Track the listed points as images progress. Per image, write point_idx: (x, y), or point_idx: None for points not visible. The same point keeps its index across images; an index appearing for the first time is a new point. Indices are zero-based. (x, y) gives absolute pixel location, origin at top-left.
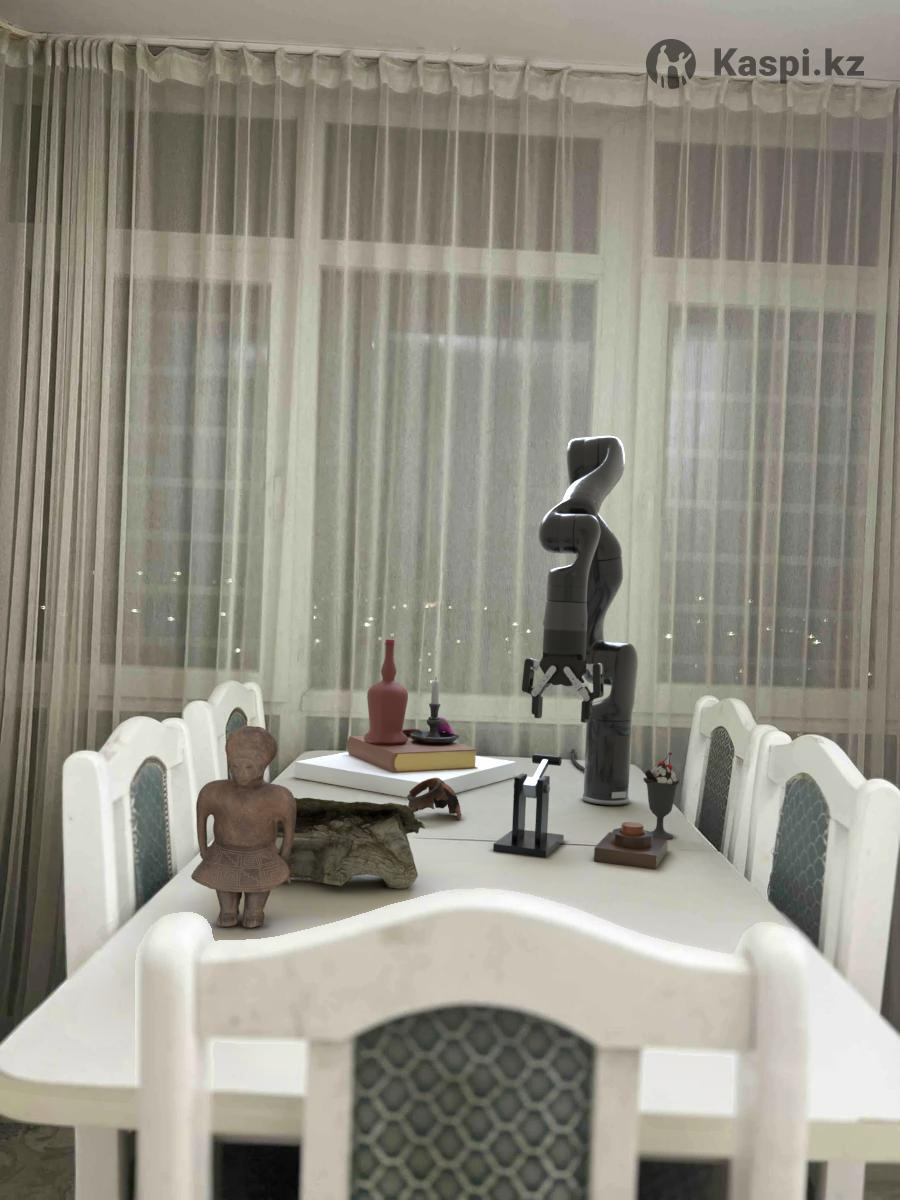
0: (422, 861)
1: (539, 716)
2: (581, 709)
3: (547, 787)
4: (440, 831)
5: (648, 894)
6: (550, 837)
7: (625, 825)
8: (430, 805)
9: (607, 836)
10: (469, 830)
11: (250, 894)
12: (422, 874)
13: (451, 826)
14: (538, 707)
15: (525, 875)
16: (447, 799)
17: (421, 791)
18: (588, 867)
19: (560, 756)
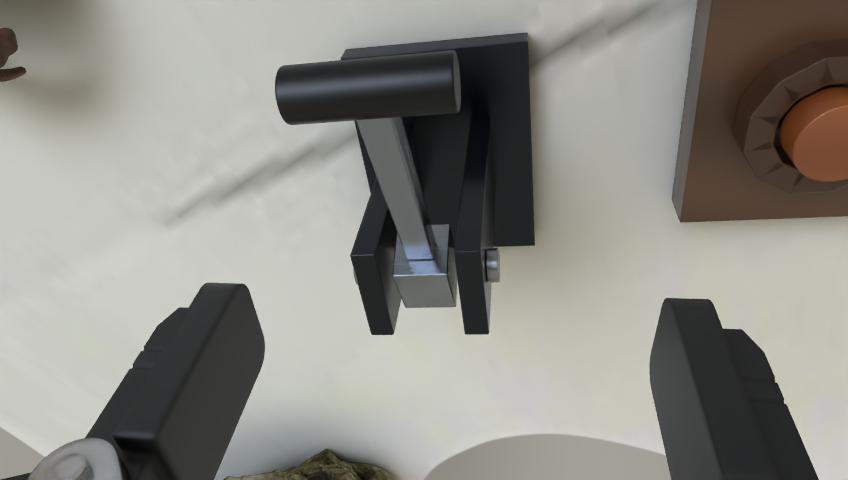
0: (310, 364)
1: (253, 331)
2: (670, 472)
3: (496, 281)
4: (150, 130)
5: (826, 370)
6: (497, 105)
7: (808, 176)
8: (8, 79)
9: (711, 64)
10: (198, 68)
11: None
12: (362, 419)
13: (122, 52)
14: (235, 426)
15: (536, 361)
16: (15, 38)
17: None
18: (664, 256)
19: (453, 95)
